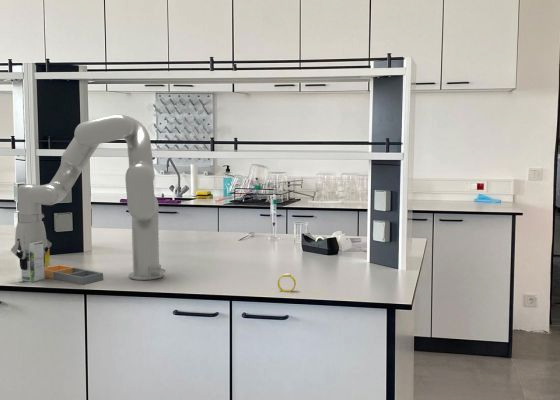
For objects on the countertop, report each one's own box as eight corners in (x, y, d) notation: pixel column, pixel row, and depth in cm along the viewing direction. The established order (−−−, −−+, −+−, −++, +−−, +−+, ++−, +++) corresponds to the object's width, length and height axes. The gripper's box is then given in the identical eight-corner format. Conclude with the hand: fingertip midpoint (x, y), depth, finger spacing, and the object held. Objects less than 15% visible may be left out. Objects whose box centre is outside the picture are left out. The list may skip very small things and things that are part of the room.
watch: (277, 292, 206) (276, 275, 206) (279, 290, 209) (277, 273, 208) (295, 292, 205) (294, 274, 204) (296, 290, 208) (295, 272, 207)
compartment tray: (103, 279, 224) (102, 273, 224) (82, 284, 217) (81, 277, 217) (60, 270, 239) (59, 264, 239) (39, 275, 232) (38, 268, 232)
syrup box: (21, 280, 223) (19, 241, 222) (34, 277, 229) (32, 238, 227) (32, 282, 221) (30, 242, 219) (45, 278, 226) (43, 239, 225)
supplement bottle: (51, 267, 246) (50, 241, 245) (48, 270, 241) (46, 244, 240) (37, 267, 246) (36, 242, 245) (33, 270, 240) (31, 244, 239)
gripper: (45, 215, 231) (47, 262, 233) (1, 220, 217) (4, 270, 219) (57, 216, 227) (59, 264, 229) (14, 222, 213) (16, 273, 215)
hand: (32, 267), depth 224 cm, fingers closed on syrup box, 6 cm apart
